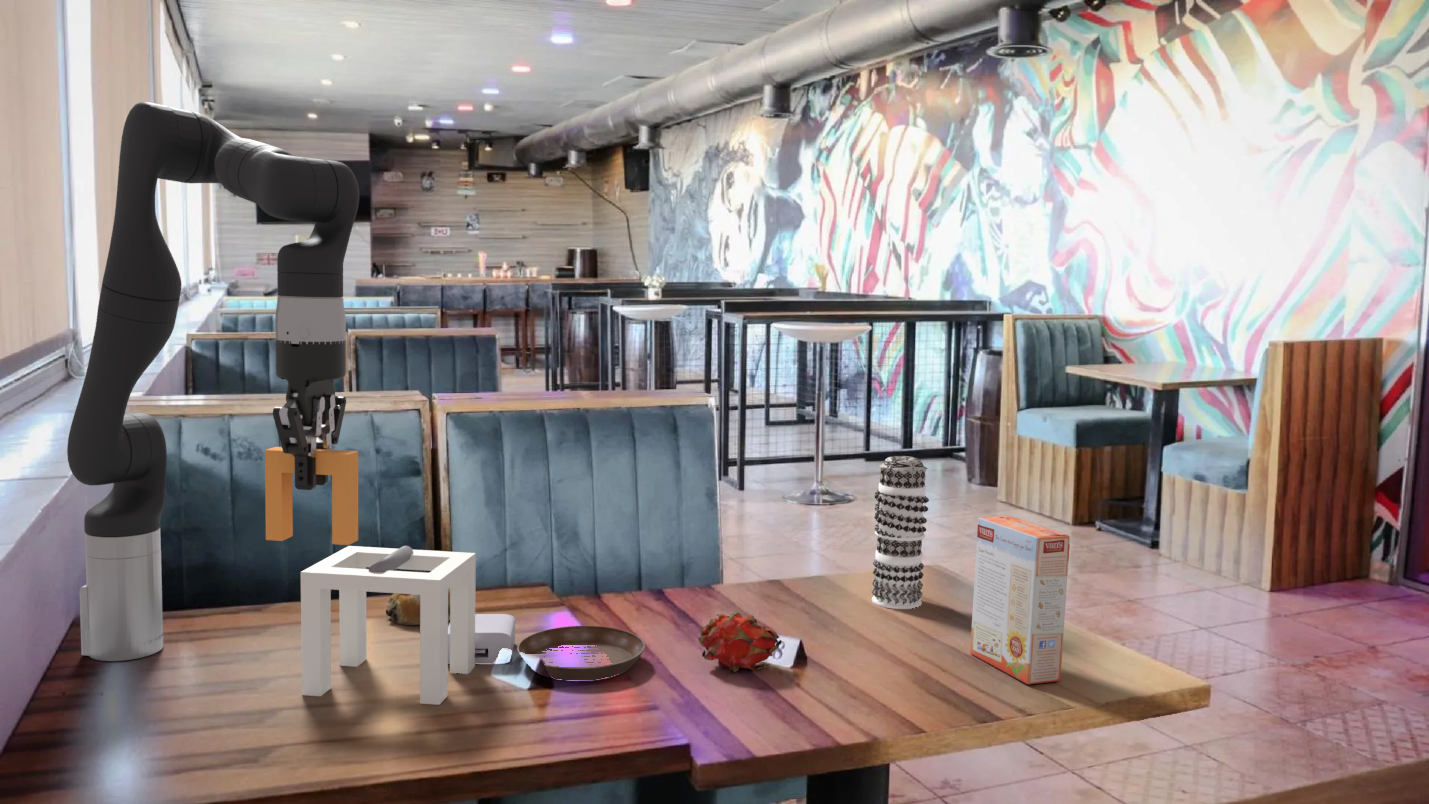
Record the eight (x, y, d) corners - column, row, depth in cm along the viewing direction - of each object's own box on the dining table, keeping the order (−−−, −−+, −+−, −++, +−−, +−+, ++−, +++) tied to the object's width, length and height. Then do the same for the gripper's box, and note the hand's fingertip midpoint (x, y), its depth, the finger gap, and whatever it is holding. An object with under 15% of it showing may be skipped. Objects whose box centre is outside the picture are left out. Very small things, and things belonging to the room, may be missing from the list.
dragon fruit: (689, 676, 156) (772, 687, 158) (702, 658, 149) (788, 670, 151) (694, 618, 161) (774, 629, 162) (706, 598, 153) (790, 610, 155)
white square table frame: (301, 695, 141) (300, 564, 139) (349, 658, 155) (348, 538, 153) (439, 704, 139) (439, 572, 137) (474, 666, 153) (475, 545, 151)
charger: (517, 631, 169) (510, 665, 154) (456, 632, 168) (443, 666, 153) (518, 601, 169) (511, 632, 154) (456, 601, 168) (443, 632, 153)
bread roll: (433, 651, 170) (455, 606, 169) (372, 621, 169) (395, 575, 168) (449, 630, 179) (470, 588, 179) (392, 602, 179) (413, 559, 178)
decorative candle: (868, 607, 187) (875, 460, 184) (870, 592, 196) (876, 452, 193) (923, 611, 185) (931, 463, 183) (922, 596, 194) (930, 455, 192)
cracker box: (1063, 682, 154) (1073, 534, 152) (1027, 686, 152) (1036, 536, 149) (1002, 650, 167) (1010, 513, 165) (968, 653, 165) (976, 515, 162)
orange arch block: (265, 539, 128) (264, 449, 127) (276, 534, 131) (275, 446, 129) (348, 545, 127) (348, 454, 126) (358, 540, 129) (358, 451, 128)
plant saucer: (519, 691, 145) (519, 668, 145) (515, 646, 162) (515, 626, 162) (653, 685, 149) (653, 663, 148) (635, 642, 166) (635, 622, 166)
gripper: (308, 332, 133) (309, 474, 135) (247, 338, 120) (249, 496, 122) (368, 335, 133) (368, 478, 135) (313, 341, 119) (314, 500, 121)
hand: (311, 486), depth 128 cm, fingers closed on orange arch block, 2 cm apart
